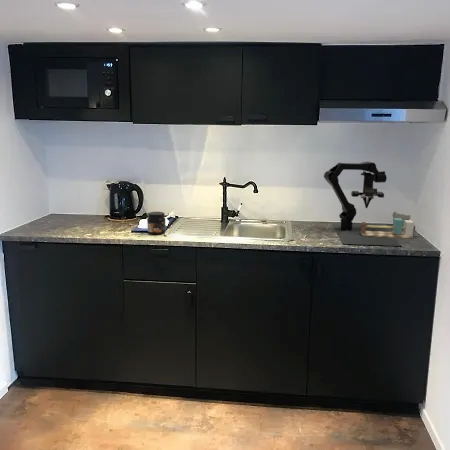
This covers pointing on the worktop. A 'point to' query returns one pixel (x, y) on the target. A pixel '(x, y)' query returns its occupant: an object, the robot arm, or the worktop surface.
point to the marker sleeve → (397, 226)
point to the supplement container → (156, 223)
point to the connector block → (408, 227)
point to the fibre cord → (382, 226)
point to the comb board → (381, 233)
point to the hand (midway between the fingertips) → (366, 208)
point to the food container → (403, 217)
